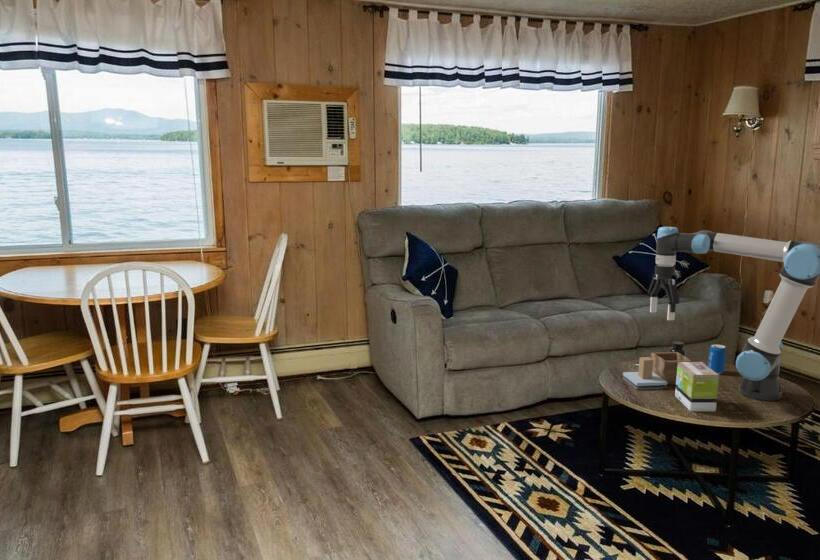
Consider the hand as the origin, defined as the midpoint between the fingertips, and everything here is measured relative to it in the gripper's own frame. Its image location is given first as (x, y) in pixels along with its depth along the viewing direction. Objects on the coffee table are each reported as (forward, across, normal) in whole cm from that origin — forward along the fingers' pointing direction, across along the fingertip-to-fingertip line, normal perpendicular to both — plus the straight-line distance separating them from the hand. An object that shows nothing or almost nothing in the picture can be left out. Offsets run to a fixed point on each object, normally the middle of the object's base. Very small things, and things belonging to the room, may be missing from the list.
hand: (661, 316), depth 265 cm
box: (+28, -2, +6) cm, 29 cm away
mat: (+28, +2, -7) cm, 29 cm away
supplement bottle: (+28, -14, +17) cm, 36 cm away
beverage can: (+29, -8, +32) cm, 44 cm away
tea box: (+29, +25, +1) cm, 38 cm away
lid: (+26, +2, -7) cm, 27 cm away
